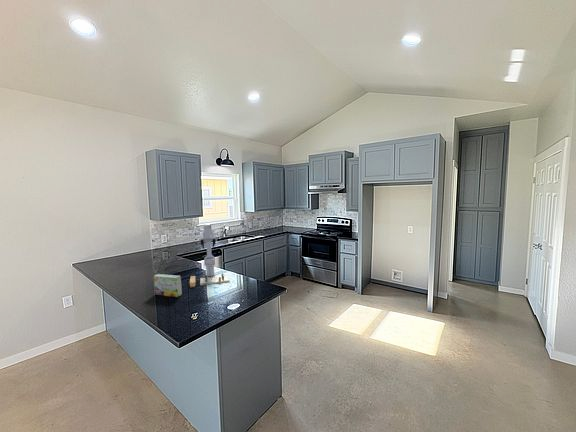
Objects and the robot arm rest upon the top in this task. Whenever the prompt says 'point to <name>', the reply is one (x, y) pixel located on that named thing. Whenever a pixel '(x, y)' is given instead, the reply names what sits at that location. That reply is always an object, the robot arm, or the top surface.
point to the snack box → (167, 285)
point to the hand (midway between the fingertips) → (208, 247)
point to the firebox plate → (214, 280)
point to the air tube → (192, 281)
